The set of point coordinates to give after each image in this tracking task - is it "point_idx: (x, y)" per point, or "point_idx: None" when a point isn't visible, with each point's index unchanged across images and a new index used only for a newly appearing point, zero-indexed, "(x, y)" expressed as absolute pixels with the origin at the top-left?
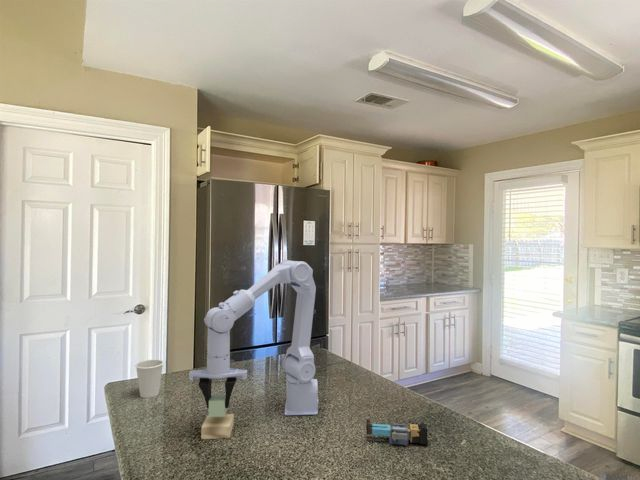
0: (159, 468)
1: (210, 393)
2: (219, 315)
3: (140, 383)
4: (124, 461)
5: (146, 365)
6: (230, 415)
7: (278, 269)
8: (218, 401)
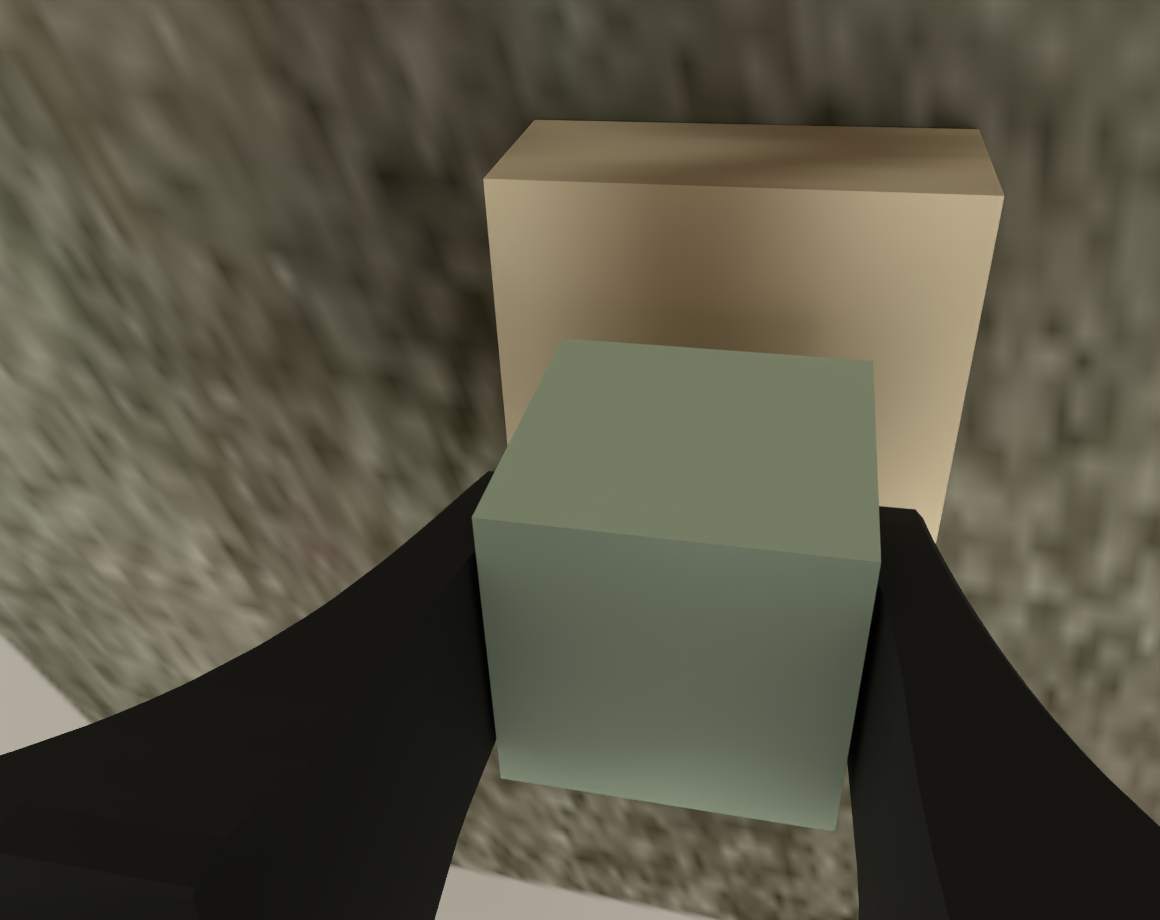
0: None
1: (442, 664)
2: None
3: None
4: (54, 683)
5: None
6: (930, 261)
7: None
8: (703, 800)
